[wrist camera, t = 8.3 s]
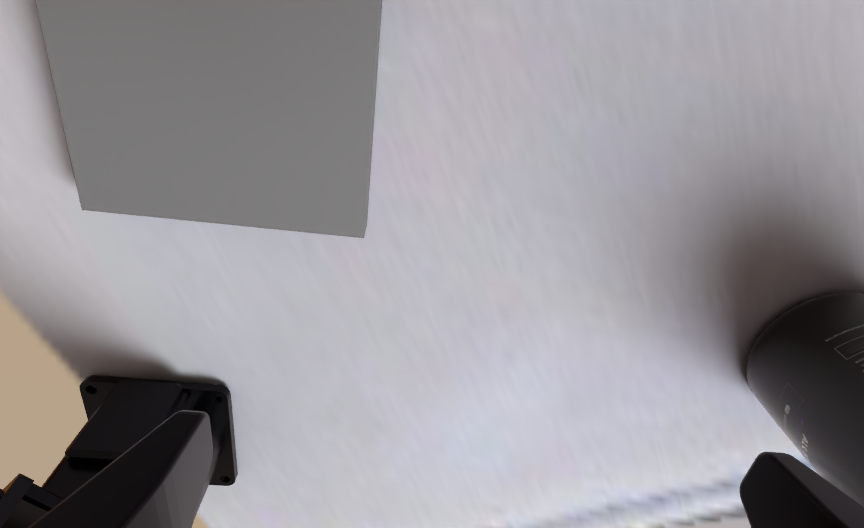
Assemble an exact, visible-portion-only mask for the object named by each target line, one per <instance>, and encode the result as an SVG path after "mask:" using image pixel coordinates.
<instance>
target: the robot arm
mask: <svg viewBox="0 0 864 528" xmlns="http://www.w3.org/2000/svg"><path fill="white" fill-rule="evenodd" d="M93 386H94V387H93ZM80 392H81V396H82V399H83V403H84V407H85V410H86V414H87V418H88V422H87V423H86V424H85V426H84V427H83V428H82V429H81V431H80V432H79V434H78V435H77V436H76V437H75V439H74V440H73V441H72V443H71V444H70V445H69V447H68V448H67V449H66V451H65V456H64V458H63V459H62V460H61V462H60V463H59V464H58V466H57V467H56V468H55V470H54V471H53V472H52V474H51V475H50V476H49V478H48V479H47V480H46V482H45V483H44V484H43V486H42V487H39V486H37V485H35V484H33V481H34V480H32V479H30V478H28V477H26V476H24V475H22V474H18V475H17V476H16V477H15V478H14V479H13V480H12V481H11V482H10V483H9V484H8V485H7V486H6V487H5V488H4V489H3V490H2V489H0V528H192V524H193V521H194V519H195V516H196V514H197V511H198V509H199V507H200V504H201V502H202V500H203V497H204V495H205V492H206V490H207V488H208V485H222V486H229V485H232V484H233V483H234V482H235V480H236V477H237V474H238V472H237V460H236V449H235V438H234V426H233V415H232V404H231V393H230V391H229V390H228V388H226V387H224V386H222V385H215V384H201V383H188V382H175V381H162V380H148V379H135V378H122V377H109V376H95V375H93V376H88V377H86V379H85V380H84V381H83V382H82V383H81V385H80ZM216 395H219V396H220V397H218V396H216ZM740 497H741V500H742V503H743V506H744V509H745V511H746V514H747V517H748V520H749V523H750V525H751V528H864V506H863V505H861V504H860V503H859V502H857V501H856V500H854V499H853V498H851V497H850V496H849V495H847V494H846V493H844V492H843V491H841V490H840V489H839V488H837V487H836V486H834V485H833V484H831V483H830V482H829V481H827V480H826V479H824V478H823V477H821V476H820V475H819V474H817V473H816V472H814V471H813V470H811V469H810V468H809V467H807V466H806V465H804V464H803V463H801V462H800V461H799V460H797V459H796V458H794V457H793V456H791V455H789V454H785V453H776V452H763V453H761V454H759V455H758V456H757V458H756V459H755V461H754V462H753V464H752V466H751V467H750V469H749V470H748V472H747V474H746V475H745V477H744V478H743V480H742V482H741V484H740Z"/></svg>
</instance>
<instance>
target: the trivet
mask: <svg viewBox="0 0 864 528" xmlns="http://www.w3.org/2000/svg"><path fill="white" fill-rule="evenodd" d="M35 2H36V6H37V11H38V15H39V20H40V24H41V29H42V33H43V38H44V42H45V47H46V51H47V56H48V60H49V64H50V69H51V73H52V78H53V82H54V87H55V91H56V96H57V100H58V105H59V109H60V114H61V118H62V123H63V127H64V132H65V136H66V141H67V145H68V150H69V154H70V159H71V163H72V167H73V172H74V176H75V181H76V185H77V190H78V194H79V199H80V203H81V208H82V210H89V211H99V212H109V213H119V214H129V215H139V216H149V217H159V218H169V219H179V220H189V221H199V222H209V223H219V224H229V225H238V226H248V227H258V228H268V229H278V230H288V231H298V232H308V233H318V234H328V235H338V236H348V237H358V238H364V235H365V231H366V226H367V214H368V200H369V185H370V170H371V155H372V141H373V126H374V111H375V97H376V82H377V67H378V53H379V38H380V23H381V8H382V0H35Z"/></svg>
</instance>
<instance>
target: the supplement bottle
mask: <svg viewBox="0 0 864 528" xmlns="http://www.w3.org/2000/svg"><path fill="white" fill-rule="evenodd" d="M746 373H747V380H748V383H749V386H750V388H751V390H752V392H753V393H754V395H755V396H756V398H757V399H758V400H759V402H760V403H761V404H762V405H763V407H764V408H765V409H766V411H767V412H768V413H769V414H770V416H771V417H772V418H773V419H774V420H775V422H776V423H777V424H778V425H779V427H780V428H781V429H782V430H783V431H784V433H785V434H786V435H787V436H788V438H789V439H790V440H791V441H792V442H793V444H794V445H795V446H796V447H797V449H798V450H799V451H800V452H801V453H802V455H803V456H804V457H805V458H806V460H807V461H808V462H809V463H810V465H811V466H812V467H813V468H814V469H815V471H816V472H817V473H818V474H819V475H820V476H821V477H823V478H824V479H826V480H827V481H829V482H830V483H831V484H833V485H834V486H836V487H837V488H839V489H840V490H841V491H843V492H844V493H846V494H847V495H849V496H850V497H851V498H853V499H854V500H856V501H857V502H859V503H860V504H861V505H863V506H864V293H854V292H844V293H834V294H828V295H824V296H820V297H817V298H814V299H811V300H808V301H805V302H803V303H801V304H799V305H797V306H795V307H793V308H791V309H790V310H788V311H786V312H785V313H783V314H782V315H781V316H779V317H778V318H777V319H775V320H774V321H773V322H772V323H771V324H770V325H769V326H768V327H767V328H766V329H765V330H764V331H763V332H762V333H761V335H760V336H759V337H758V339H757V340H756V342H755V343H754V345H753V347H752V349H751V351H750V354H749V357H748V361H747V370H746Z"/></svg>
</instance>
